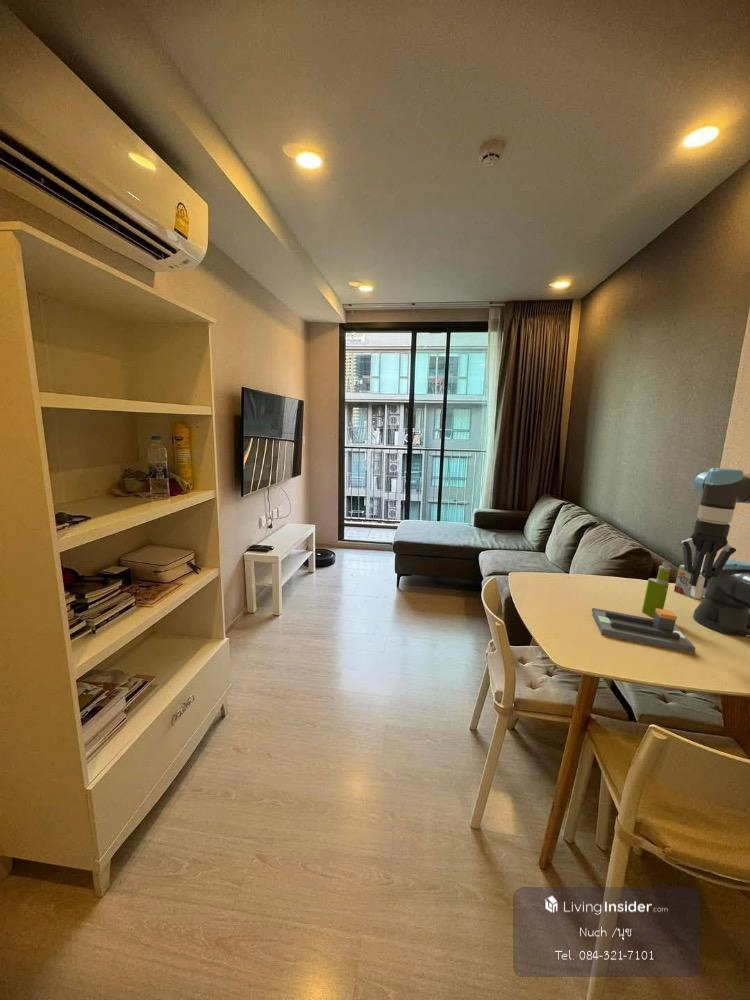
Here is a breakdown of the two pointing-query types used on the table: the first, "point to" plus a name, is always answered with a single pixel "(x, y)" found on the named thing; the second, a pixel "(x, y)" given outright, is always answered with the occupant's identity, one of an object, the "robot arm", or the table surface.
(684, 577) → the ink box
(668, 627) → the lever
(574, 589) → the table surface
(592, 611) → the grey twin rods
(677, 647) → the panel
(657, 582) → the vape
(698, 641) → the table surface
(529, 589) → the table surface
